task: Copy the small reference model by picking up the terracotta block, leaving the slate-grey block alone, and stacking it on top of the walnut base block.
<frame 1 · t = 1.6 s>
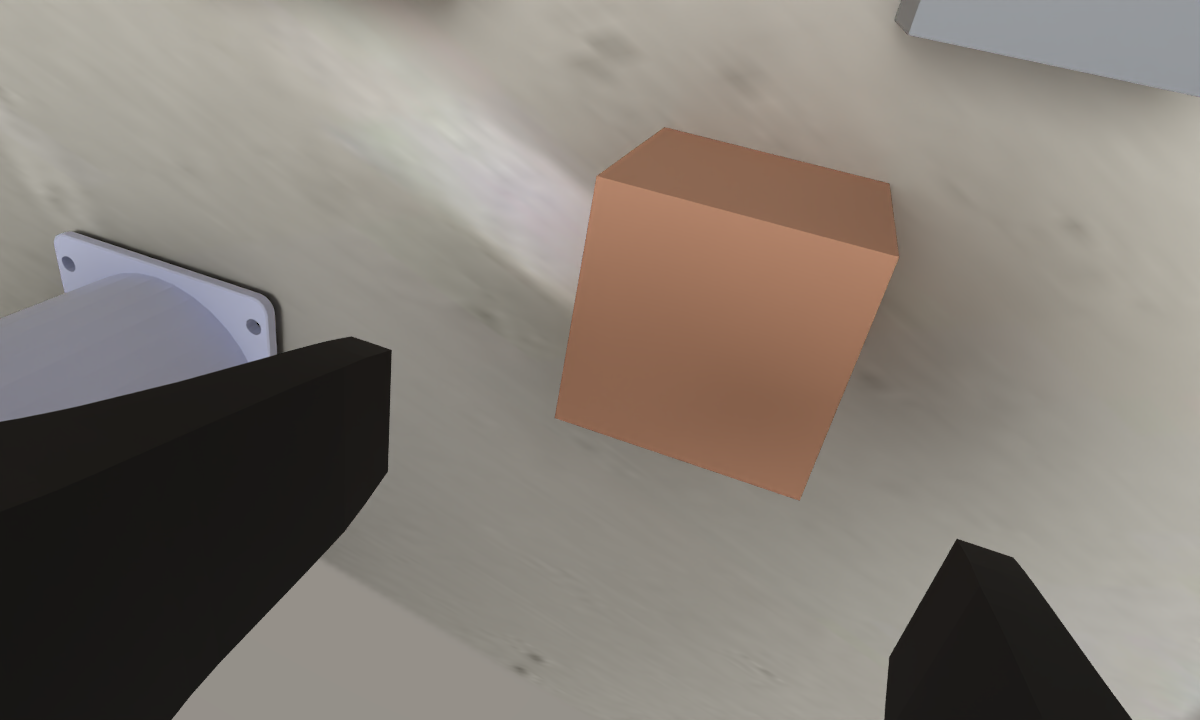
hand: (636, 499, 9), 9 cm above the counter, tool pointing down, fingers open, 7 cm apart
terracotta block: (743, 258, 17), on the counter
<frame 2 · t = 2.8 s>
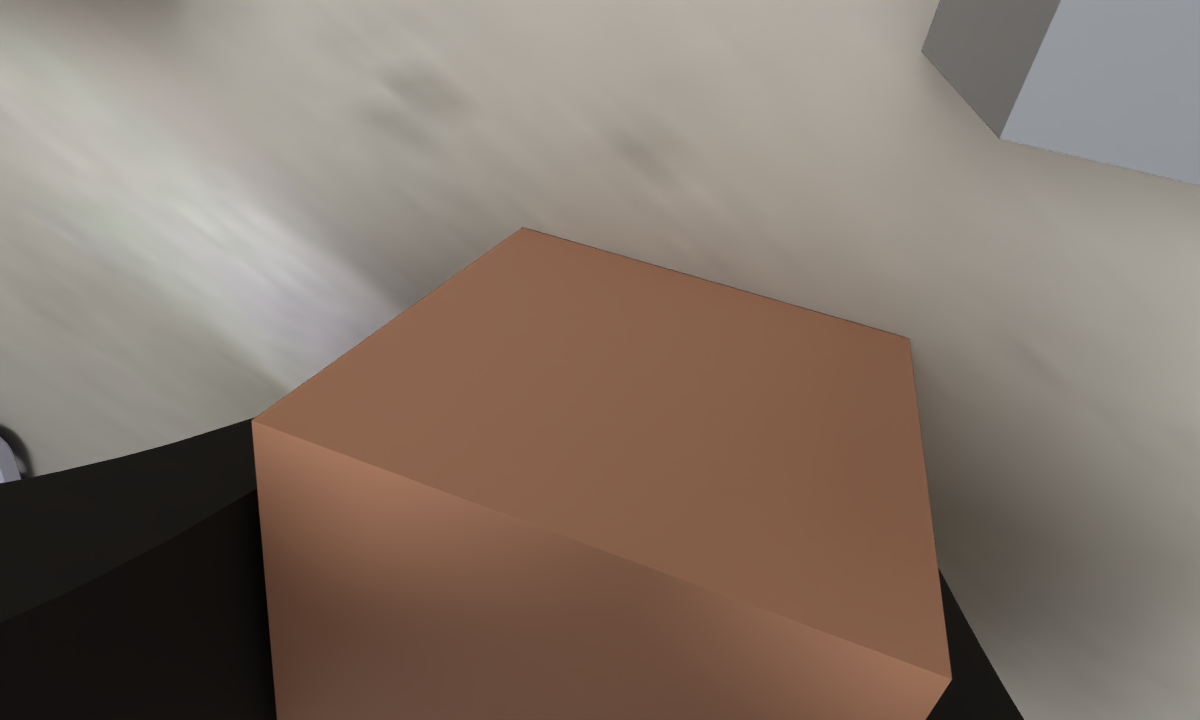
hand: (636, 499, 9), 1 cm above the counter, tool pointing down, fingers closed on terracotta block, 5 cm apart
terracotta block: (663, 439, 10), on the counter, touching gripper
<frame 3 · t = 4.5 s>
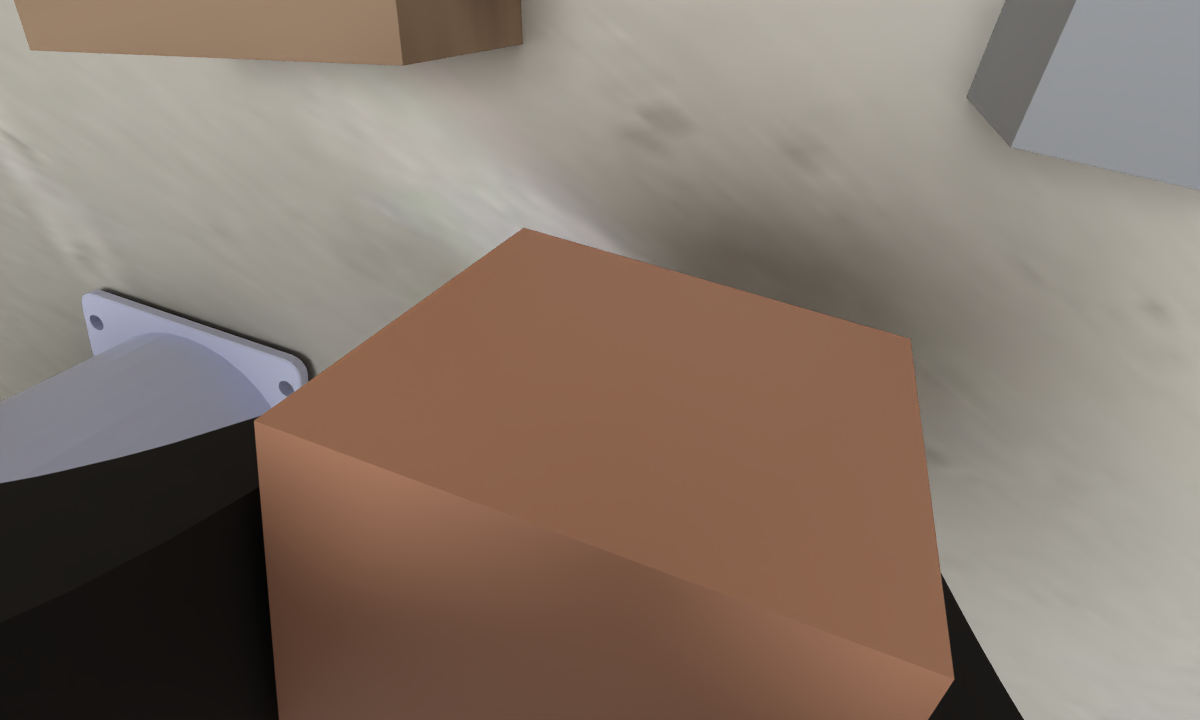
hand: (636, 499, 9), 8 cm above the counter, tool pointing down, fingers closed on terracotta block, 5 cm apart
terracotta block: (664, 439, 10), point 7 cm above the counter, touching gripper
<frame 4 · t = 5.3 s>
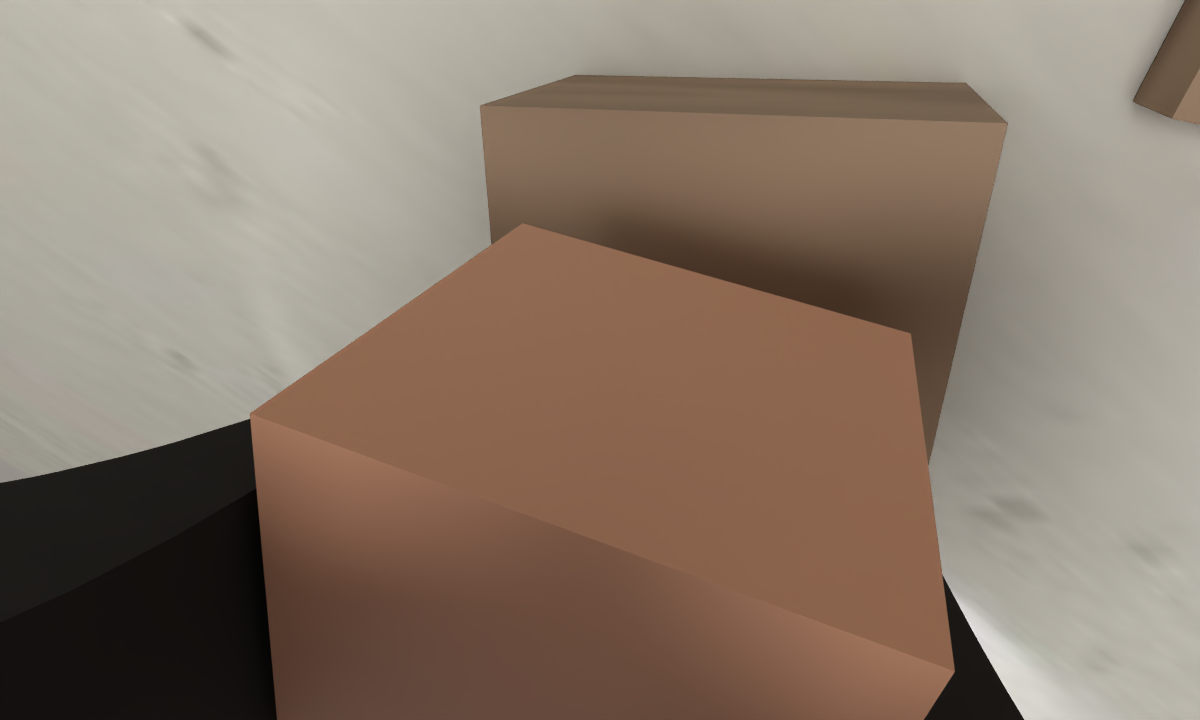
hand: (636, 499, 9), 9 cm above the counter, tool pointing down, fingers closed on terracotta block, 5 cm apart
terracotta block: (664, 435, 10), point 8 cm above the counter, touching gripper
walnut base: (743, 258, 17), on the counter
when the fingers open (7 cm above the counter, at t = 6.1 s): terracotta block drops 1 cm, point 5 cm above the counter.
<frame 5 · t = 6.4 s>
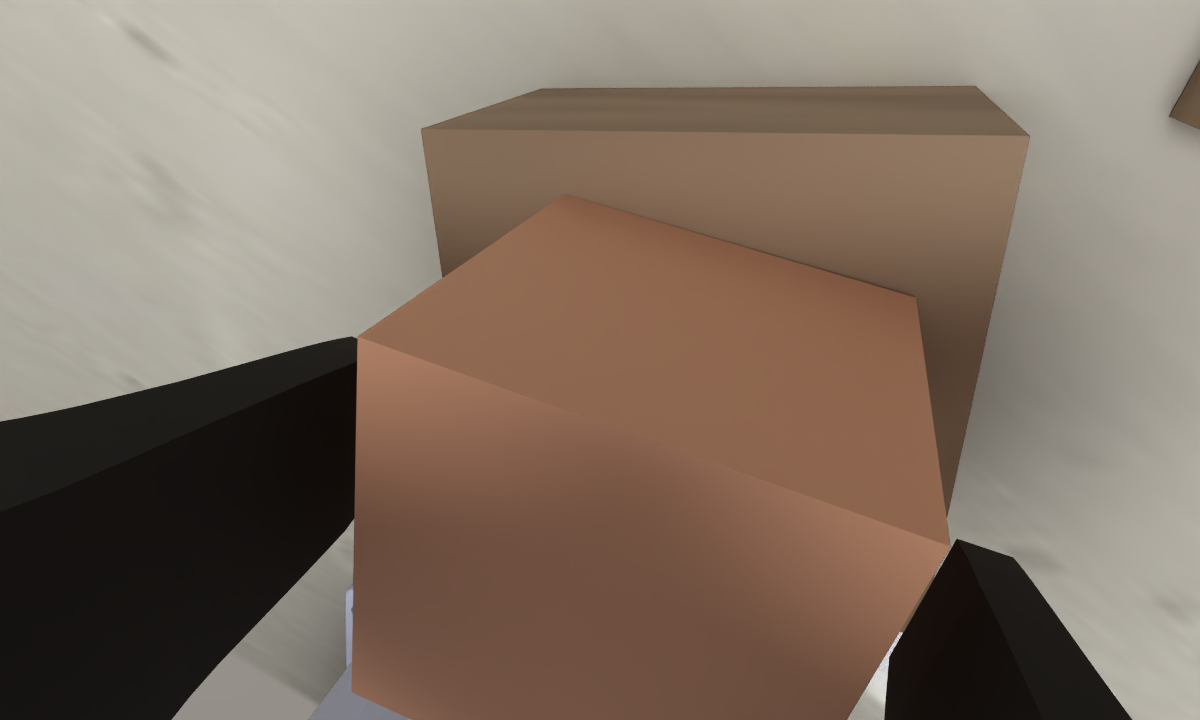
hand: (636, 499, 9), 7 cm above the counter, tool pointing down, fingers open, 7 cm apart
terracotta block: (687, 392, 11), point 5 cm above the counter
walnut base: (732, 284, 16), on the counter
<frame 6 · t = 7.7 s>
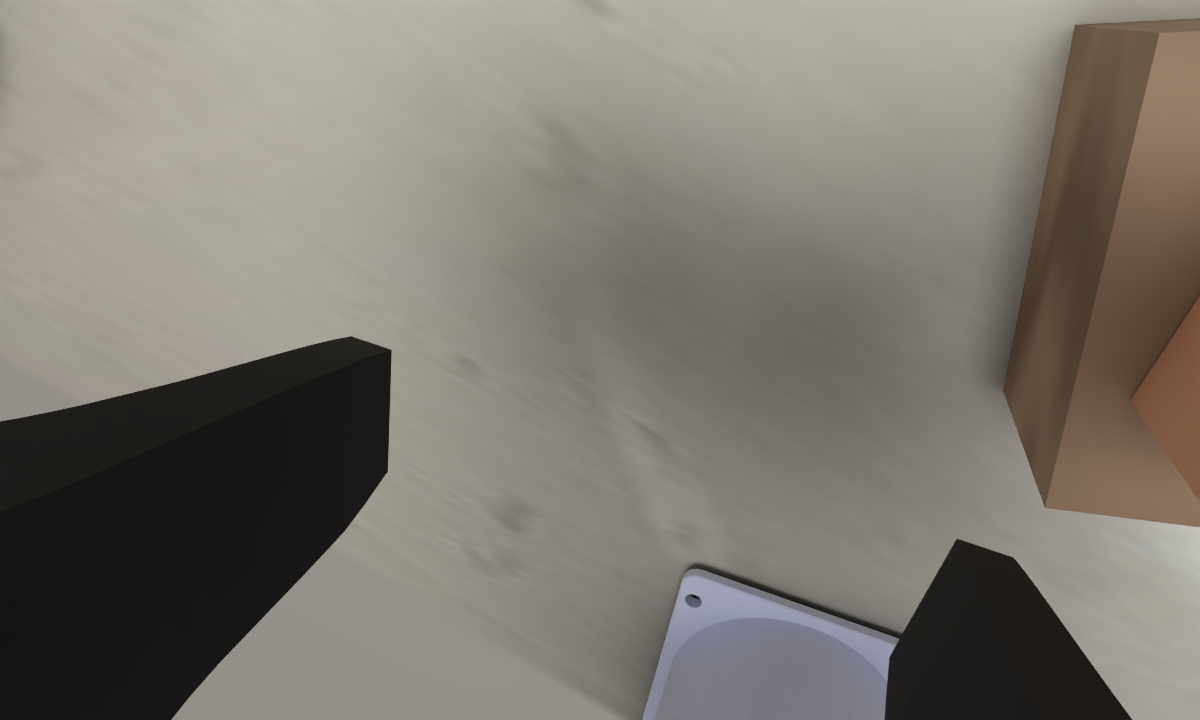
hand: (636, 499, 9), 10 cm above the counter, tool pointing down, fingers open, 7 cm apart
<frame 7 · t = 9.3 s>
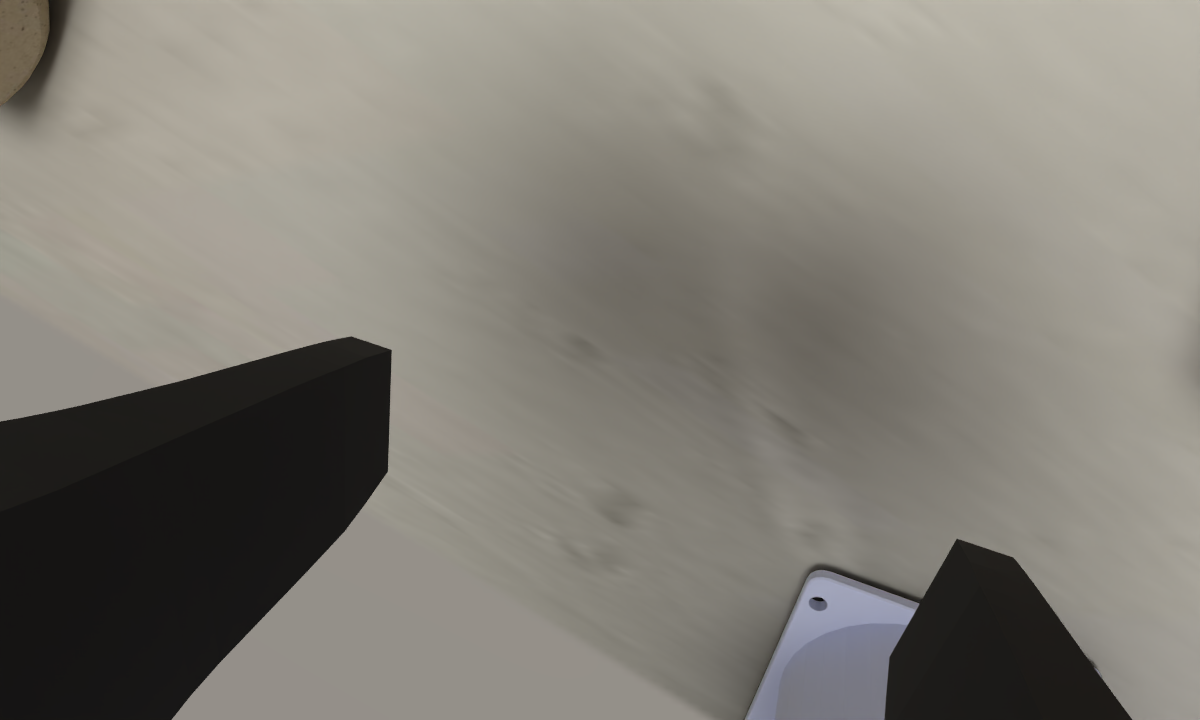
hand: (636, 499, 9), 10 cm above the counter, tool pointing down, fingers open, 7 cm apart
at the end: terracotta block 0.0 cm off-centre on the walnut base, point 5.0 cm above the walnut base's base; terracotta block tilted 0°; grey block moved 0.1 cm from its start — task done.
